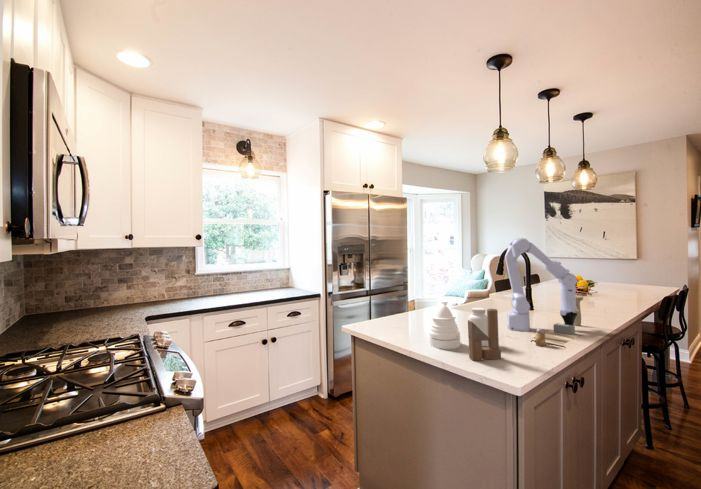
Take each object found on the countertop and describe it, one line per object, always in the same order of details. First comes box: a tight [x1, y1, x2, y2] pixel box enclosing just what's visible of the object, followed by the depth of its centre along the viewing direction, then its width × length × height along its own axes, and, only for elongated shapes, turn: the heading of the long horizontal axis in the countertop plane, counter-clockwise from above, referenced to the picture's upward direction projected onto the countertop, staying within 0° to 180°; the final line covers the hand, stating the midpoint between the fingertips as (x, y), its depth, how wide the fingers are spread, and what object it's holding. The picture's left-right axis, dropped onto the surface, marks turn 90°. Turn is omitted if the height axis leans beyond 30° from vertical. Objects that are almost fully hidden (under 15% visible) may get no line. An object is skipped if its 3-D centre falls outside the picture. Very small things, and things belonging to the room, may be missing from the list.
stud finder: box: [553, 322, 576, 335], centre depth 148 cm, size 4×7×4 cm, turn 38°
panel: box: [531, 329, 581, 348], centre depth 143 cm, size 20×12×1 cm, turn 128°
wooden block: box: [467, 308, 502, 362], centre depth 123 cm, size 4×11×18 cm, turn 96°
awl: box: [535, 328, 546, 347], centre depth 136 cm, size 3×3×6 cm
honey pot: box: [428, 300, 461, 350], centre depth 142 cm, size 13×13×18 cm
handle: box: [573, 295, 584, 327], centre depth 161 cm, size 5×6×15 cm
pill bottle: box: [468, 307, 488, 348], centre depth 140 cm, size 8×8×15 cm
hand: (569, 328), depth 152 cm, fingers closed
